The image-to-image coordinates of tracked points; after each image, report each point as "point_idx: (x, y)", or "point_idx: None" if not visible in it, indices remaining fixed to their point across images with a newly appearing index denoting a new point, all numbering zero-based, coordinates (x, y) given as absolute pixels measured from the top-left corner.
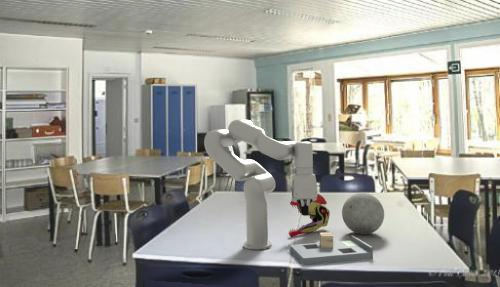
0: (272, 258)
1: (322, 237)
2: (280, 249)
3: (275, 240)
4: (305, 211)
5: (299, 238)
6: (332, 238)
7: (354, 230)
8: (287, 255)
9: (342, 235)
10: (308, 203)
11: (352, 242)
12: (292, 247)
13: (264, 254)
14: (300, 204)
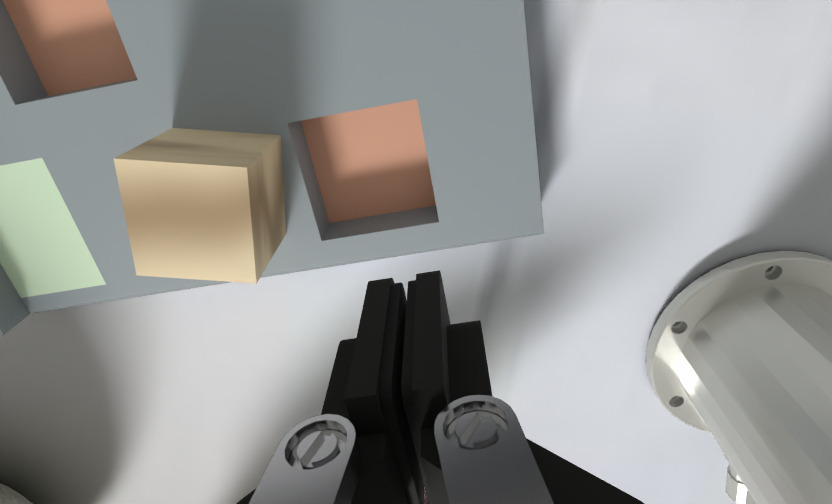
0: (736, 25)
1: (237, 160)
2: (601, 253)
3: (586, 439)
4: (406, 318)
5: None
6: (136, 149)
7: (15, 497)
8: (583, 99)
9: (124, 488)
10: (300, 478)
11: (12, 254)
12: (537, 164)
13: (768, 142)
14: (535, 453)
